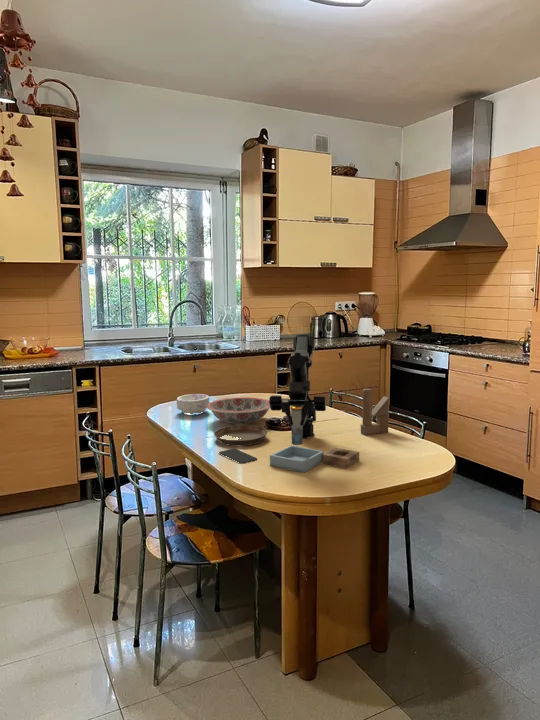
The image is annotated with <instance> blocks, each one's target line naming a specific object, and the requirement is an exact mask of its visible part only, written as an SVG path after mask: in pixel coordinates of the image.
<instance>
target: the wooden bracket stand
mask: <svg viewBox="0 0 540 720" xmlns="http://www.w3.org/2000/svg"><path fill="white" fill-rule="evenodd" d="M389 399H390V397H387V396H382V397H381V399H380V400H379V401H378V403H377V404H376V405H375V406H374V407H373V390H372V389H371V388H363V389H362V418H361V419H362V424H360V434H362V435H364V436H370V435H375V434H376V435H377V434H385V433H386V432H387V433H389V414H390V413H389V411H390V409H389V406H390V405H389V403H390V401H389ZM373 417H374V418H375V417H376V418H375V419H376V420H375V421H376V422H375V423H373Z"/></svg>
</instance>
